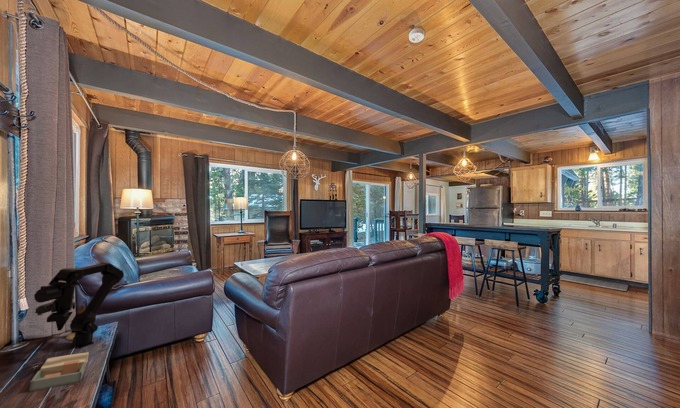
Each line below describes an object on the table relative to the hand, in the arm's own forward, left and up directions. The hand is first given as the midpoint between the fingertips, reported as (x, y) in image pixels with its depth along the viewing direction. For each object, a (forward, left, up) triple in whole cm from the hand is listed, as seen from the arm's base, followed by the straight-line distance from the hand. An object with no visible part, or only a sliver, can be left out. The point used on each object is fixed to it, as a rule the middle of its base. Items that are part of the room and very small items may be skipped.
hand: (59, 330), depth 122 cm
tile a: (+5, +20, -9) cm, 23 cm away
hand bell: (-16, -15, -12) cm, 25 cm away
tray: (+10, +22, -12) cm, 27 cm away
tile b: (+12, +21, -9) cm, 26 cm away
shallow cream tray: (+4, +15, -12) cm, 20 cm away
